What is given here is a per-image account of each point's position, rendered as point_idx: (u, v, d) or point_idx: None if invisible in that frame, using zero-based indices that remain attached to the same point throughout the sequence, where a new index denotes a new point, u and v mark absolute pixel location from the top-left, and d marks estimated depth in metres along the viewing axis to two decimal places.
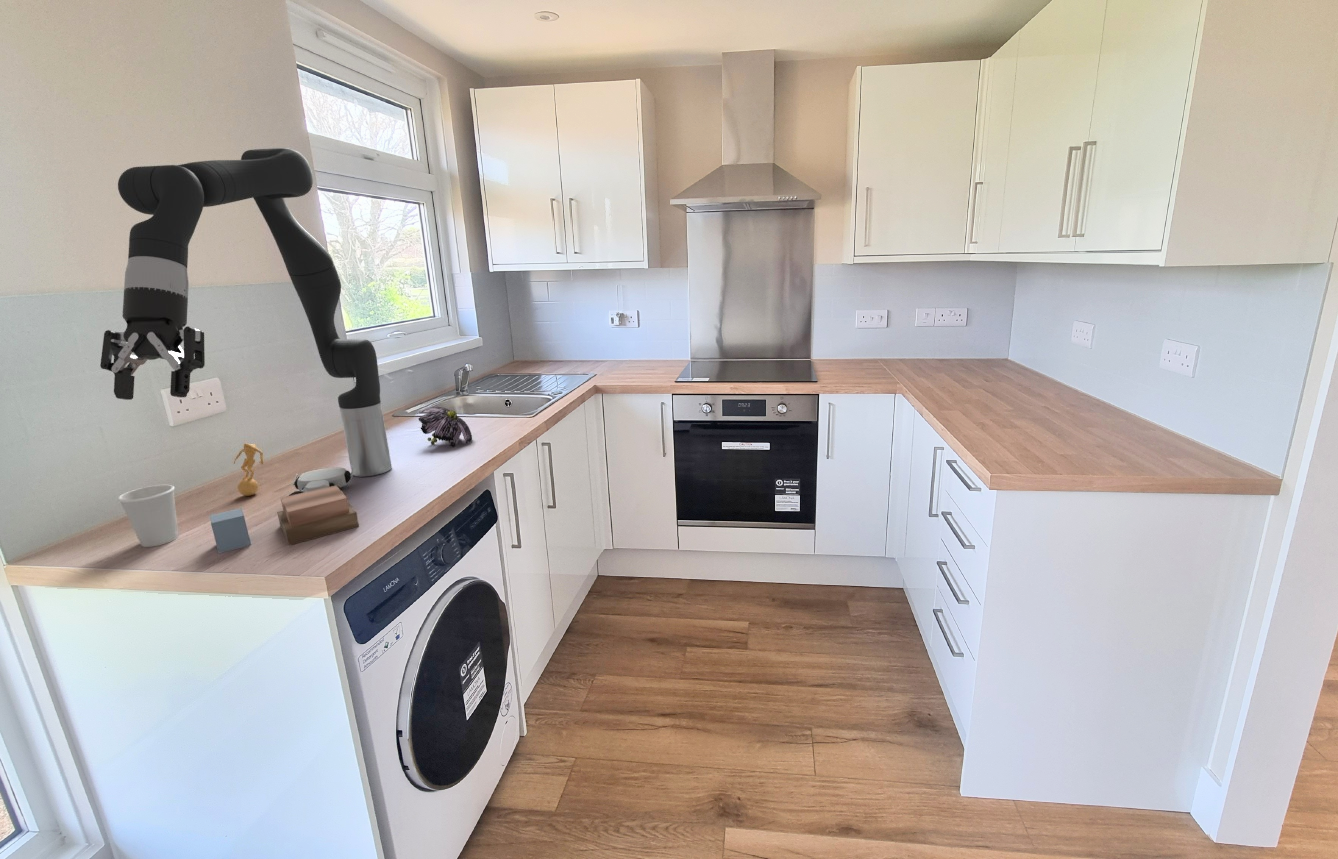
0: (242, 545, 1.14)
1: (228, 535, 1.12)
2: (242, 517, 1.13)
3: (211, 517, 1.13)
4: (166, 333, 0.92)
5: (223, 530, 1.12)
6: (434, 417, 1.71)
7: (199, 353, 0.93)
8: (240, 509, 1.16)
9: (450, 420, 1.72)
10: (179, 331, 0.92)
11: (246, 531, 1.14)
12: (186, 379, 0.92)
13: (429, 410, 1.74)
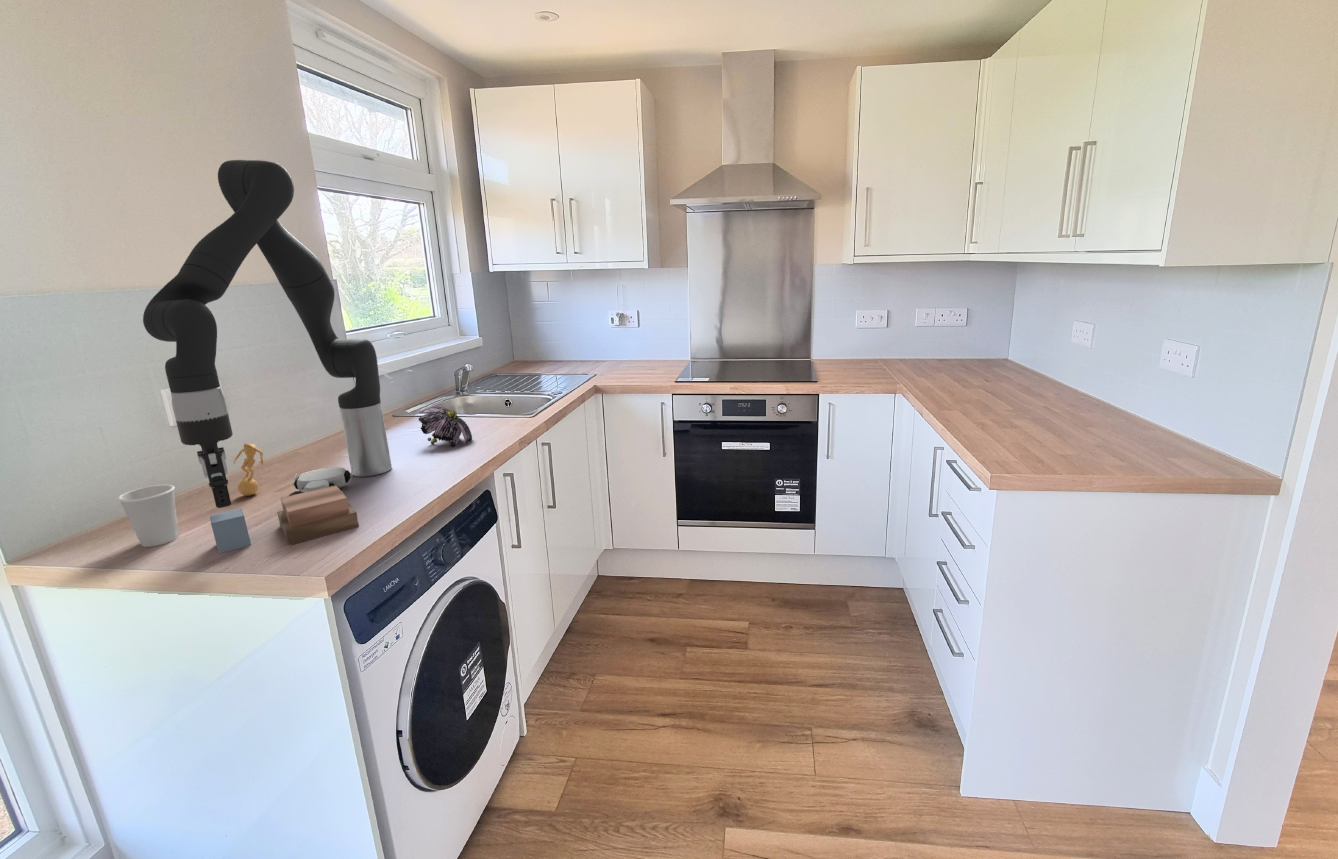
0: (242, 545, 1.14)
1: (228, 535, 1.12)
2: (242, 517, 1.13)
3: (211, 517, 1.13)
4: None
5: (223, 530, 1.12)
6: (434, 417, 1.71)
7: (221, 472, 1.06)
8: (240, 509, 1.16)
9: (450, 420, 1.72)
10: (208, 454, 1.06)
11: (246, 531, 1.14)
12: (221, 494, 1.08)
13: (429, 410, 1.74)
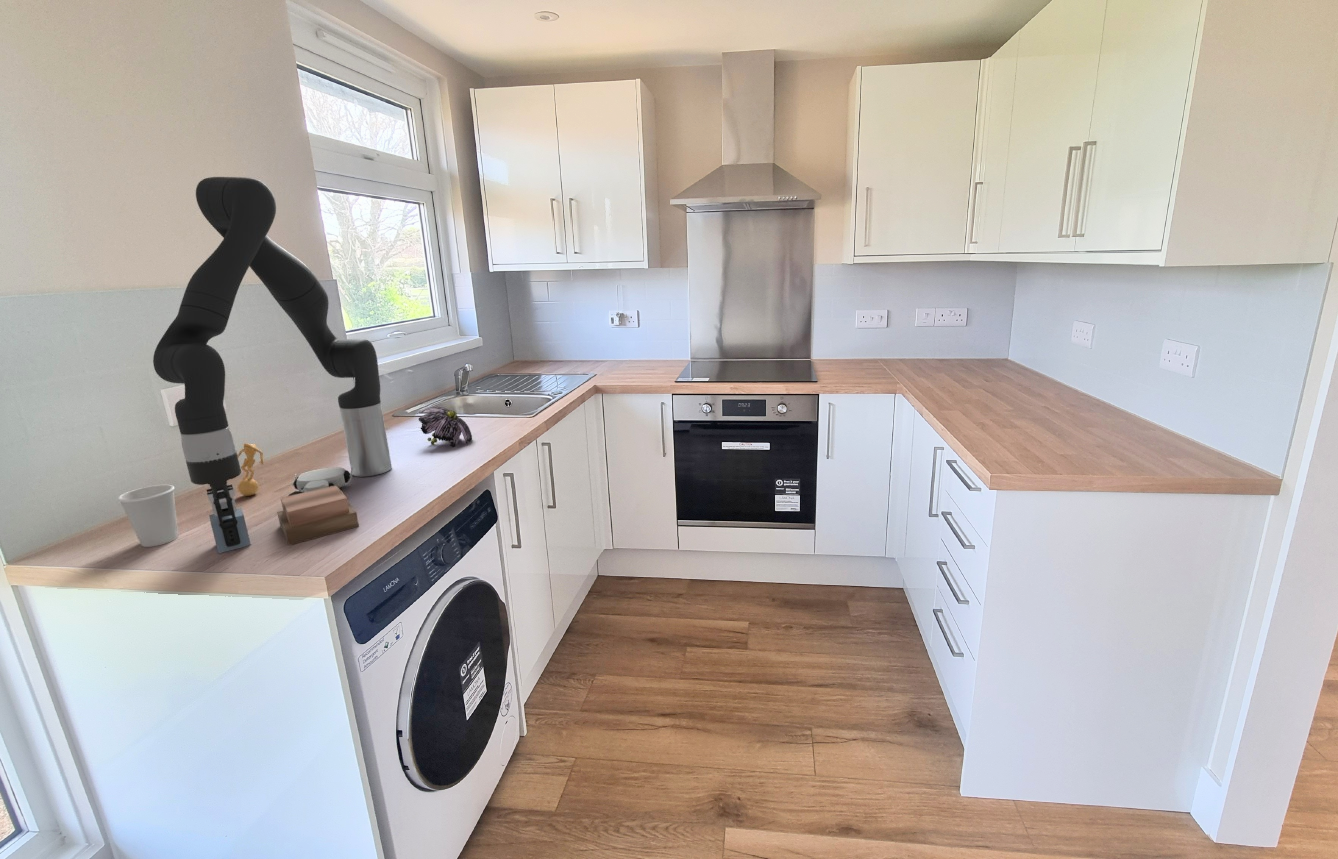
0: (242, 545, 1.14)
1: None
2: (242, 517, 1.13)
3: (210, 517, 1.13)
4: (213, 494, 1.09)
5: None
6: (434, 417, 1.71)
7: (231, 515, 1.09)
8: (240, 509, 1.16)
9: (450, 420, 1.72)
10: (218, 495, 1.09)
11: (246, 531, 1.14)
12: (231, 533, 1.11)
13: (429, 410, 1.74)
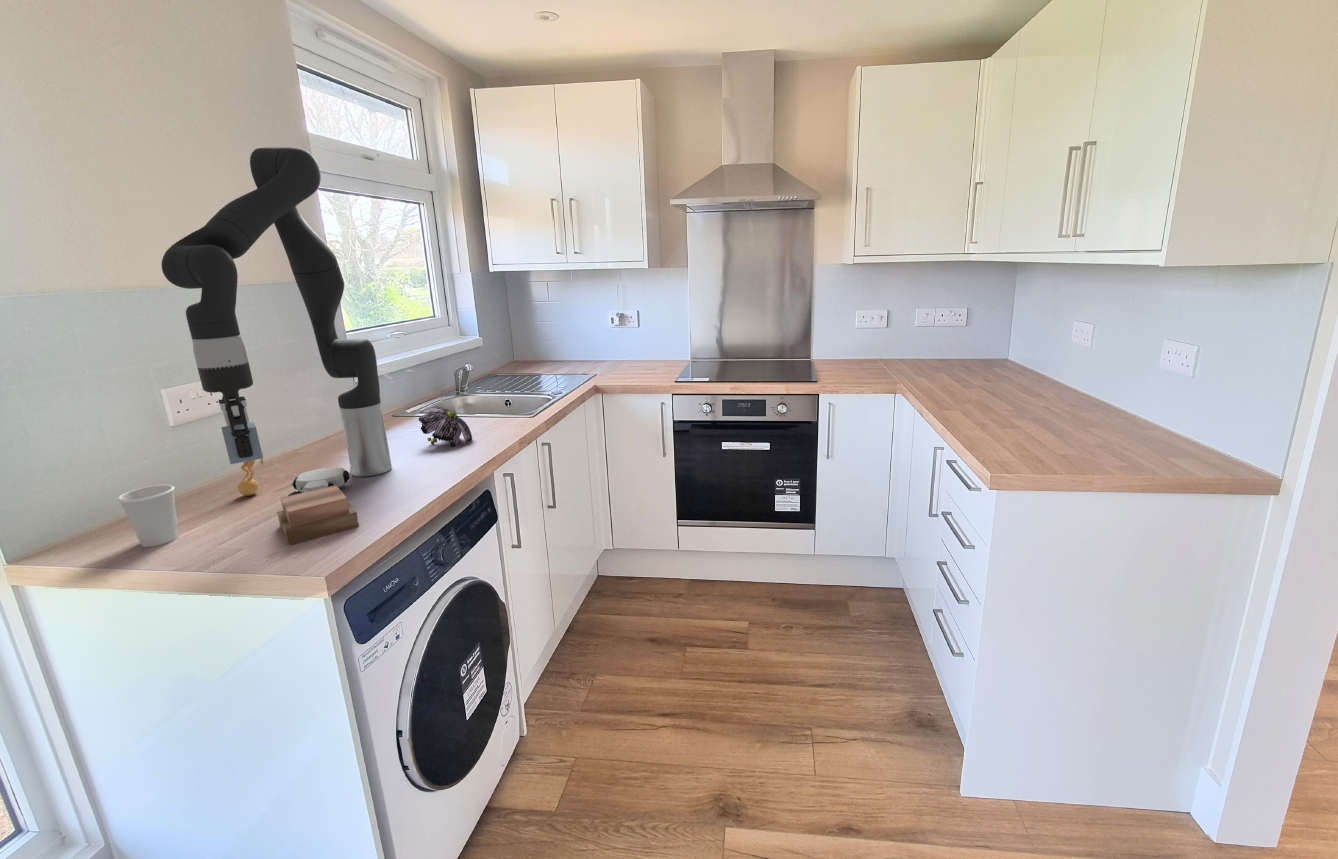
0: (254, 457, 1.12)
1: None
2: (254, 428, 1.11)
3: (222, 428, 1.11)
4: (225, 402, 1.08)
5: (234, 441, 1.10)
6: (434, 417, 1.71)
7: (243, 423, 1.08)
8: (252, 423, 1.15)
9: (450, 420, 1.72)
10: (230, 403, 1.07)
11: (258, 443, 1.12)
12: (243, 444, 1.10)
13: (429, 410, 1.74)
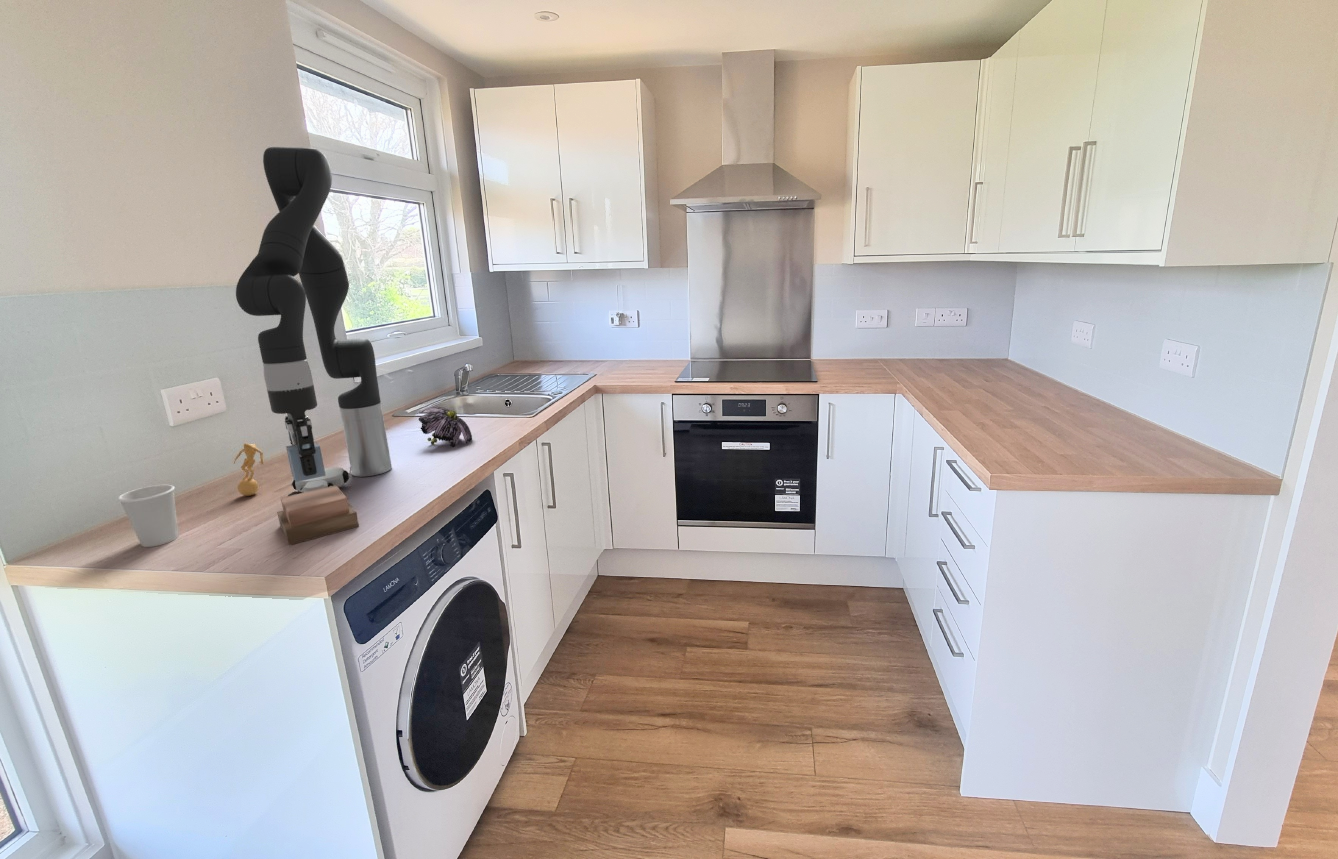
0: (317, 475, 1.18)
1: None
2: (318, 447, 1.17)
3: (288, 447, 1.17)
4: (293, 423, 1.13)
5: None
6: (434, 417, 1.71)
7: (310, 443, 1.13)
8: (314, 442, 1.20)
9: (450, 420, 1.72)
10: (298, 424, 1.13)
11: (321, 461, 1.18)
12: (309, 462, 1.15)
13: (429, 410, 1.74)
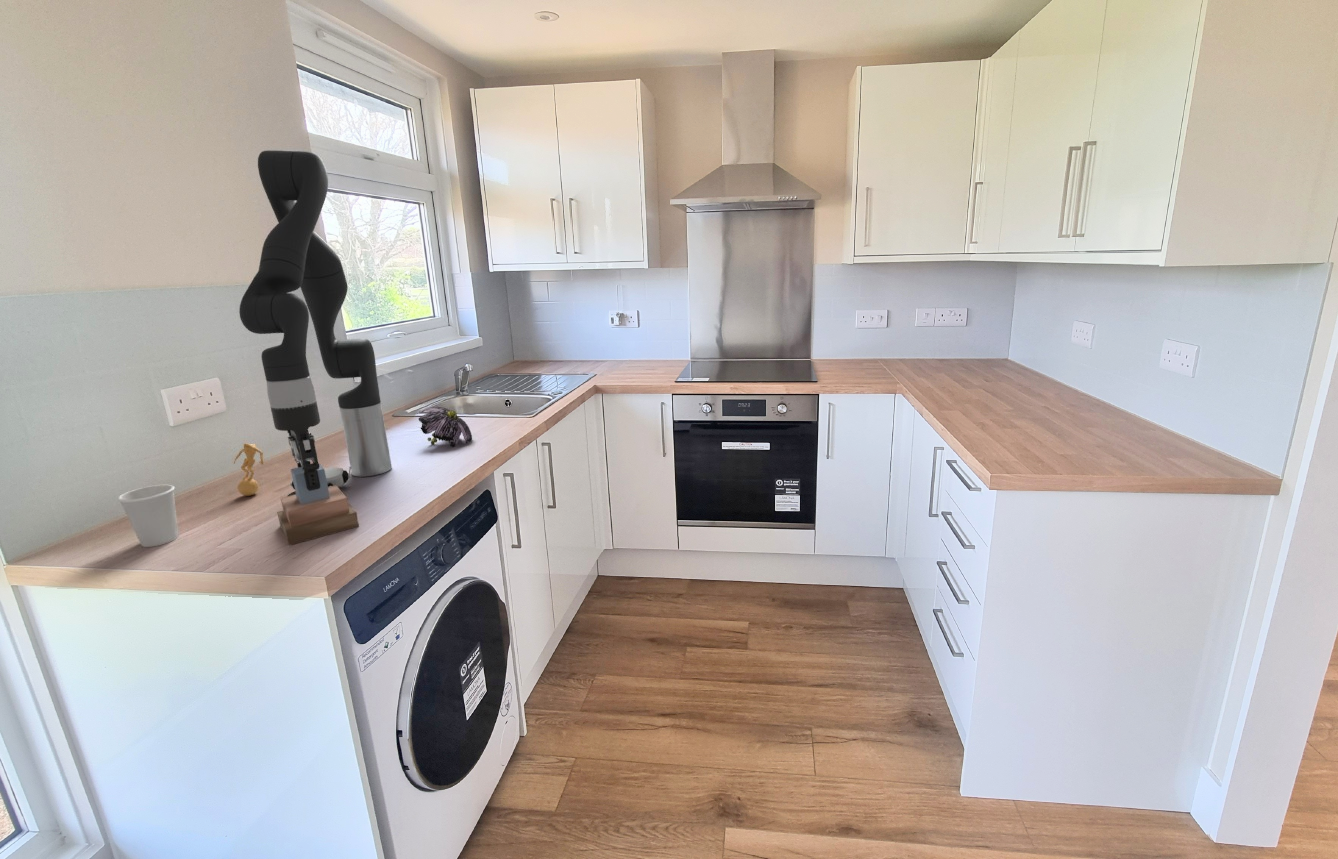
0: (322, 497, 1.19)
1: None
2: (322, 470, 1.18)
3: (293, 470, 1.18)
4: (296, 440, 1.14)
5: (305, 482, 1.17)
6: (434, 417, 1.71)
7: (314, 457, 1.13)
8: None
9: (450, 420, 1.72)
10: (301, 439, 1.13)
11: (326, 484, 1.19)
12: (312, 477, 1.15)
13: (429, 410, 1.74)
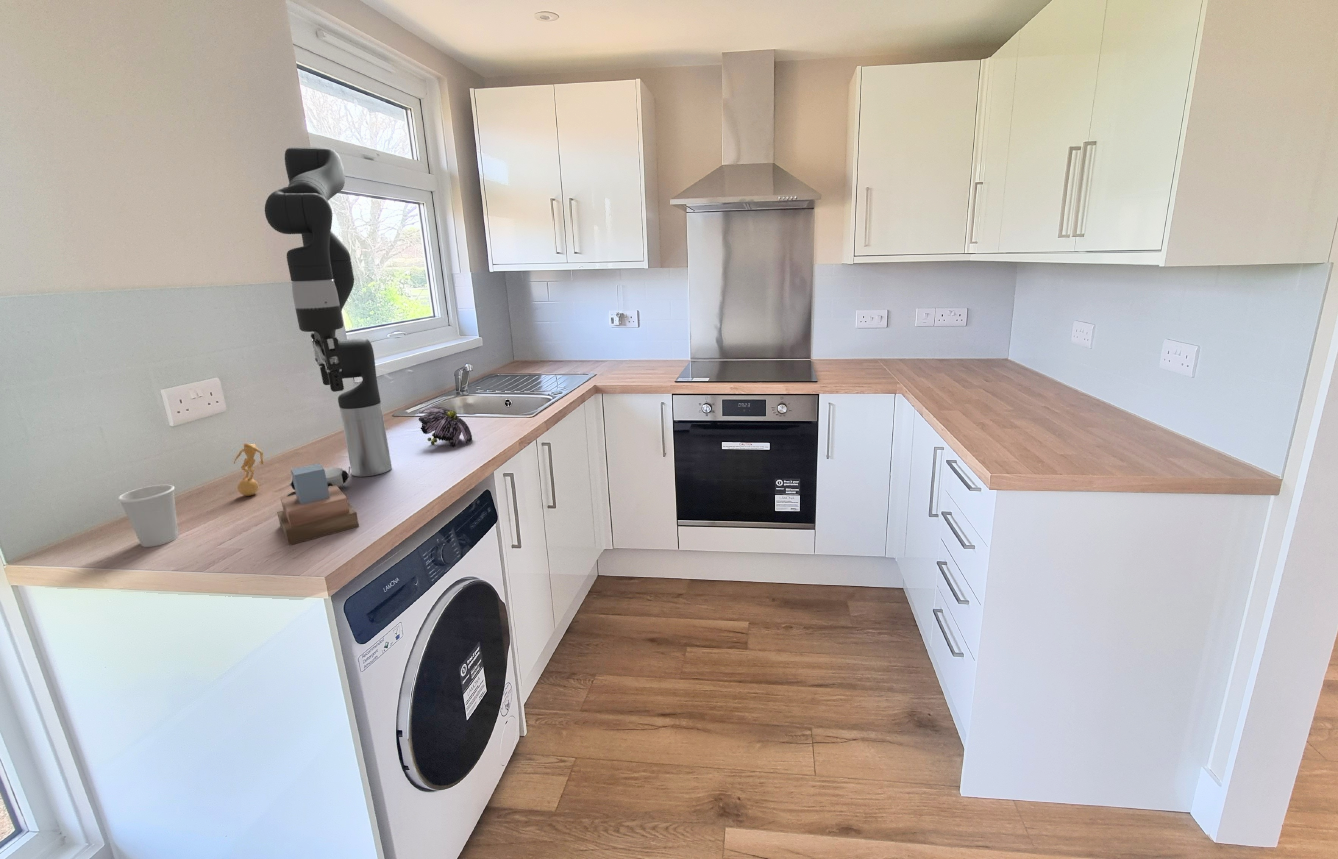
0: (322, 497, 1.19)
1: (310, 487, 1.17)
2: (322, 470, 1.18)
3: (293, 470, 1.18)
4: (320, 342, 1.16)
5: (305, 482, 1.17)
6: (434, 417, 1.71)
7: (337, 357, 1.15)
8: (318, 464, 1.21)
9: (450, 420, 1.72)
10: None
11: (326, 484, 1.19)
12: (336, 378, 1.17)
13: (429, 410, 1.74)
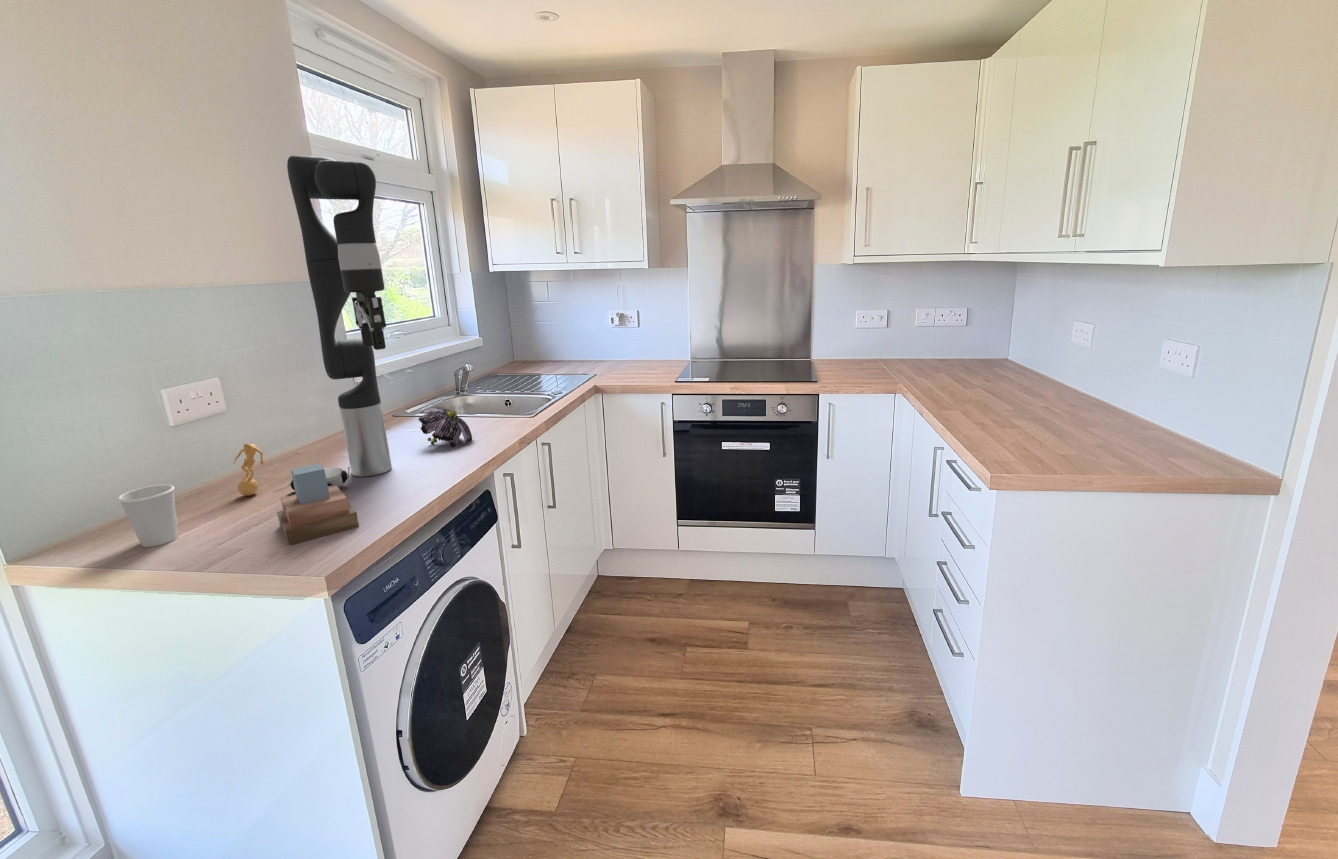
0: (322, 497, 1.19)
1: (310, 487, 1.17)
2: (322, 470, 1.18)
3: (293, 470, 1.18)
4: (364, 302, 1.23)
5: (305, 482, 1.17)
6: (434, 417, 1.71)
7: (381, 315, 1.21)
8: (318, 464, 1.21)
9: (450, 420, 1.72)
10: None
11: (326, 484, 1.19)
12: (379, 336, 1.23)
13: (429, 410, 1.74)
